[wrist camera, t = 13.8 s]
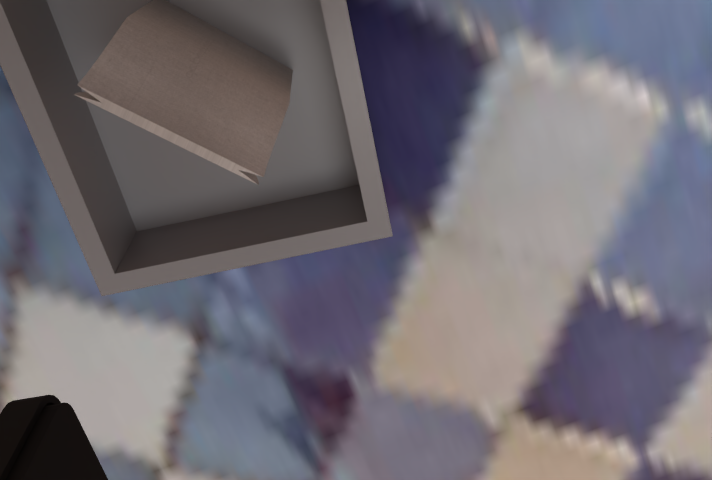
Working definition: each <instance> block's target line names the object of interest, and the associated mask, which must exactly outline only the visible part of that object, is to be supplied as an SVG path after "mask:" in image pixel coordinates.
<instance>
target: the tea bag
mask: <svg viewBox="0 0 712 480" xmlns="http://www.w3.org/2000/svg"><path fill="white" fill-rule="evenodd" d="M292 74H293V70H292V69H290V68H288V67H287V66H285V65H283V64H281V63H279V62H277V61H276V60H274V59H272V58H270V57H268V56H266V55H265V54H263V53H261V52H259V51H257V50H256V49H254V48H252V47H250V46H248V45H246V44H245V43H243V42H241V41H239V40H237V39H235V38H234V37H232V36H230V35H228V34H226V33H225V32H223V31H221V30H219V29H217V28H215V27H214V26H212V25H210V24H208V23H206V22H204V21H203V20H201V19H199V18H197V17H195V16H194V15H192V14H190V13H188V12H186V11H184V10H183V9H181V8H179V7H177V6H175V5H173V4H172V3H170V2H168V1H166V0H153V1H151V2H150V3H148V4H146V5H145V6H143V7H142V8H140V9H139V10H137V11H136V12H134V13H133V14H131V15H130V16H128V17H127V18H126V19H125V21H124V22H123V24H122V25H121V26H120V28H119V29H118V31H117V32H116V34H115V35H114V36H113V38H112V39H111V41H110V42H109V44H108V45H107V46H106V48H105V49H104V51H103V52H102V54H101V55H100V56H99V58H98V59H97V60H96V62H95V63H94V64H93V66H92V67H91V68H90V70H89V71H88V73H87V74H86V75H85V76H84V78H83V79H82V80H81V81H80V82H79V83H78V84H77V85H78V86H79V87H81V88H82V89H83V90H85V91H86V92H78V93H76V94H74V95H76V96H78V97H80V98H82V99H84V100H86V101H88V102H90V103H92V104H94V105H96V106H98V107H100V108H102V109H104V110H106V111H109V112H111V113H113V114H115V115H117V116H119V117H121V118H123V119H125V120H127V121H129V122H131V123H133V124H135V125H137V126H139V127H141V128H143V129H145V130H147V131H149V132H151V133H153V134H155V135H158V136H160V137H162V138H164V139H166V140H168V141H170V142H172V143H174V144H176V145H178V146H180V147H182V148H184V149H186V150H188V151H190V152H192V153H194V154H196V155H198V156H200V157H202V158H204V159H207V160H209V161H211V162H213V163H215V164H217V165H219V166H221V167H223V168H225V169H227V170H229V171H231V172H233V173H235V174H237V175H239V176H241V177H243V178H245V179H247V180H249V181H251V182H253V183H256V184H258V185H259V181H258V179H257V177H256V175H258V176H261V177H264V174H265V170H266V167H267V164H268V161H269V158H270V155H271V152H272V150H273V147H274V144H275V141H276V139H277V136H278V133H279V130H280V128H281V125H282V122H283V120H284V117H285V114H286V111H287V109H288V106H289V102H290V93H291V83H292Z"/></svg>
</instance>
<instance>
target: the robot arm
mask: <svg viewBox="0 0 712 480" xmlns="http://www.w3.org/2000/svg"><path fill="white" fill-rule="evenodd" d="M0 480H108V479H107V477H106V475H105V473H104V471H103V468H102V466H101V464H100V462H99V460H98V458H97V456H96V454H95V452H94V450H93V448H92V446H91V444H90V442H89V440H88V438H87V436H86V434H85V432H84V430H83V428H82V426H81V424H80V422H79V420H78V418H77V416H76V414H75V412H74V410H73V408H72V407H71V405H69V404H68V403H61V402H60V401H59V399H58V398H56V397H55V396H54V395H45V396H39V397H33V398H27V399H21V400H15V401H12V402H10V403H8V404H7V405H6V406H5V408H4V409H3V410H2V412H1V414H0Z"/></svg>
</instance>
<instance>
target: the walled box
mask: <svg viewBox="0 0 712 480" xmlns="http://www.w3.org/2000/svg"><path fill="white" fill-rule="evenodd" d="M151 1H153V0H0V65H1V67H2V70H3V72H4V74H5V77H6V79H7V81H8V83H9V86H10V88H11V90H12V93H13V95H14V97H15V99H16V102H17V104H18V106H19V108H20V111H21V113H22V115H23V118H24V120H25V122H26V124H27V127H28V129H29V131H30V134H31V136H32V138H33V140H34V143H35V145H36V147H37V149H38V152H39V154H40V156H41V159H42V161H43V163H44V165H45V168H46V170H47V172H48V175H49V177H50V179H51V181H52V184H53V186H54V188H55V191H56V193H57V195H58V197H59V200H60V202H61V204H62V206H63V209H64V211H65V213H66V216H67V218H68V220H69V222H70V225H71V227H72V229H73V232H74V234H75V236H76V238H77V241H78V243H79V245H80V247H81V250H82V252H83V254H84V257H85V259H86V261H87V263H88V266H89V268H90V270H91V273H92V275H93V277H94V279H95V282H96V284H97V286H98V288H99V291H100V293H101V295H102V296H105V295H110V294H114V293H119V292H124V291H129V290H134V289H139V288H144V287H148V286H153V285H158V284H163V283H168V282H173V281H177V280H182V279H187V278H192V277H197V276H202V275H207V274H211V273H216V272H221V271H226V270H231V269H236V268H240V267H245V266H250V265H255V264H260V263H265V262H270V261H274V260H279V259H284V258H289V257H294V256H299V255H304V254H308V253H313V252H318V251H323V250H328V249H333V248H337V247H342V246H347V245H352V244H357V243H362V242H367V241H371V240H376V239H381V238H386V237H391V236H393V235H392V230H391V225H390V220H389V215H388V210H387V205H386V200H385V195H384V190H383V185H382V180H381V175H380V170H379V165H378V160H377V155H376V150H375V145H374V139H373V134H372V129H371V124H370V119H369V114H368V109H367V104H366V99H365V94H364V89H363V84H362V79H361V74H360V69H359V64H358V59H357V54H356V49H355V44H354V38H353V33H352V28H351V23H350V18H349V13H348V8H347V3H346V0H166V1H168V2H170V3H172V4H173V5H175V6H177V7H179V8H181V9H183V10H184V11H186V12H188V13H190V14H192V15H194V16H195V17H197V18H199V19H201V20H203V21H204V22H206V23H208V24H210V25H212V26H214V27H215V28H217V29H219V30H221V31H223V32H225V33H226V34H228V35H230V36H232V37H234V38H235V39H237V40H239V41H241V42H243V43H245V44H246V45H248V46H250V47H252V48H254V49H256V50H257V51H259V52H261V53H263V54H265V55H266V56H268V57H270V58H272V59H274V60H276V61H277V62H279V63H281V64H283V65H285V66H287V67H288V68H290V69H292V70H293V74H292V83H291V93H290V102H289V106H288V109H287V111H286V114H285V117H284V120H283V122H282V125H281V128H280V130H279V133H278V136H277V139H276V141H275V144H274V147H273V150H272V152H271V155H270V158H269V161H268V164H267V167H266V170H265V174H264V177H261V176H258V175H256V177H257V179H258V181H259V185H258V184H256V183H253V182H251V181H249V180H247V179H245V178H243V177H241V176H239V175H237V174H235V173H233V172H231V171H229V170H227V169H225V168H223V167H221V166H219V165H217V164H215V163H213V162H211V161H209V160H207V159H204V158H202V157H200V156H198V155H196V154H194V153H192V152H190V151H188V150H186V149H184V148H182V147H180V146H178V145H176V144H174V143H172V142H170V141H168V140H166V139H164V138H162V137H160V136H158V135H155V134H153V133H151V132H149V131H147V130H145V129H143V128H141V127H139V126H137V125H135V124H133V123H131V122H129V121H127V120H125V119H123V118H121V117H119V116H117V115H115V114H113V113H111V112H109V111H106V110H104V109H102V108H100V107H98V106H96V105H94V104H92V103H90V102H88V101H86V100H84V99H82V98H80V97H78V96H76V95H74V94H76V93H78V92H86V91H85V90H83V89H82V88H81V87H79V86H78V85H77V84H78V83H79V82H80V81H81V80H82V79H83V78H84V76H85V75H86V74H87V73H88V71H89V70H90V68H91V67H92V66H93V64H94V63H95V62H96V60H97V59H98V58H99V56H100V55H101V54H102V52H103V51H104V49H105V48H106V46H107V45H108V44H109V42H110V41H111V39H112V38H113V36H114V35H115V34H116V32H117V31H118V29H119V28H120V26H121V25H122V24H123V22H124V21H125V19H126V18H127V17H128V16H130V15H131V14H133V13H134V12H136V11H137V10H139V9H140V8H142V7H143V6H145V5H146V4H148V3H150V2H151Z"/></svg>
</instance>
